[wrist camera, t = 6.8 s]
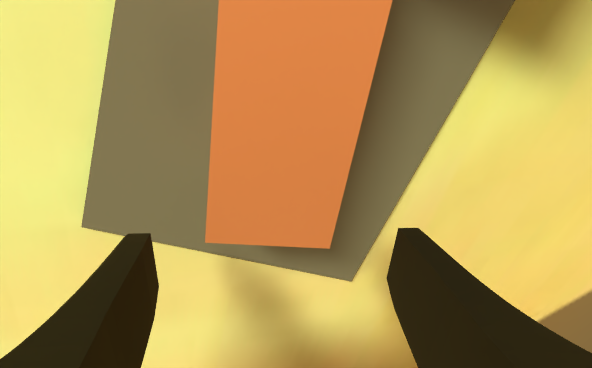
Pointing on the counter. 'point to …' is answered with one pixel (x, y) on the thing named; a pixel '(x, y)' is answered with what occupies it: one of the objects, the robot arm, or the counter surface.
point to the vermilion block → (287, 116)
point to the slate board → (198, 123)
